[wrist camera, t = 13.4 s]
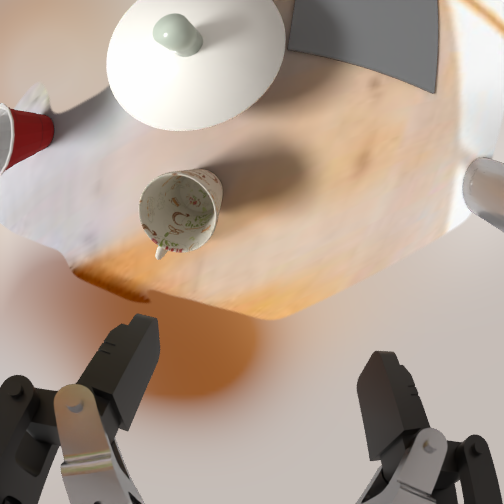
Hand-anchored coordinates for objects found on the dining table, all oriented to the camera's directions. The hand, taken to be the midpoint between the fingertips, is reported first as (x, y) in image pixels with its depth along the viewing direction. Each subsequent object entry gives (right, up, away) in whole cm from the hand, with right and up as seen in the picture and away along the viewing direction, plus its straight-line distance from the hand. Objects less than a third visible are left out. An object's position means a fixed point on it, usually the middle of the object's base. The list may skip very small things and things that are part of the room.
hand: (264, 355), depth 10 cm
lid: (-7, +24, +13) cm, 28 cm away
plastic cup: (-34, +23, +23) cm, 48 cm away
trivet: (+15, +35, +13) cm, 41 cm away
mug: (-8, +10, +27) cm, 30 cm away
